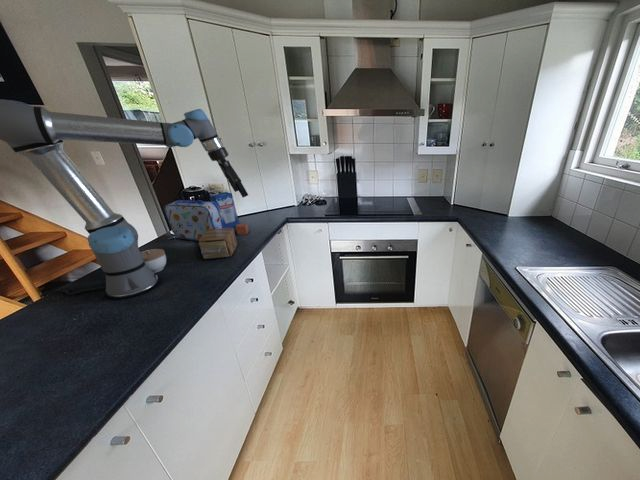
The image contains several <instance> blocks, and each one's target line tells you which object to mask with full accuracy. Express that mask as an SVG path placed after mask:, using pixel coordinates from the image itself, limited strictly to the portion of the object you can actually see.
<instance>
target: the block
mask: <svg viewBox="0 0 640 480" xmlns="http://www.w3.org/2000/svg"><path fill="white" fill-rule="evenodd" d="M235 230H236V234H237V235H238V236H241V235H248V233H249V227H248V223H246V222H244V223H239V224H237V226H235Z"/></svg>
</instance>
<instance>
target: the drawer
mask: <svg viewBox="0 0 640 480" xmlns="http://www.w3.org/2000/svg"><path fill="white" fill-rule="evenodd" d="M198 245H199V249H200V254H201V255H202V258H203V260H208V259H218V258H227V257H228V258H229V257H230V256H229V254H228V249H227V245H226V241H225V240H214V241H203V243H199V242H198Z"/></svg>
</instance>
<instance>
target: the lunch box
mask: <svg viewBox="0 0 640 480" xmlns="http://www.w3.org/2000/svg"><path fill="white" fill-rule="evenodd" d="M163 210H164V214H165V216H166V219H167V223H169V226H170V229H171V231H172V233H173V235H174V236H175V237H176V238H179V239H182V240H183V239H184V240H191V241H199V239H200V238H201V237H202V236H203V235H204V233H205V232H206V231H207V230H208V229H219V228H224V227H223V223H222V217H223V215H222V213H221V212H220V210H219V207H218V206H217V205H216V204H215V203H213V202H211V201H206V200H205V201H204V200H202V199H199V200H190V199H189V200H187V199H177V200H175V201H173V202H171V203H168V204H166V205H165V206H164V208H163Z"/></svg>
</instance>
